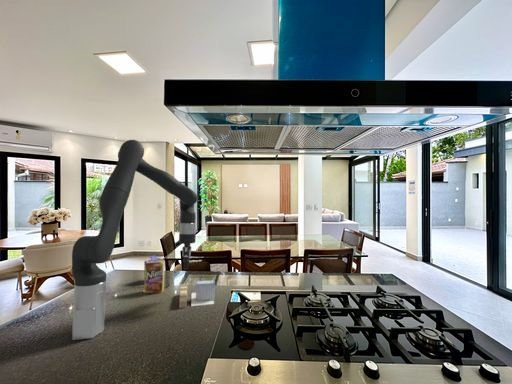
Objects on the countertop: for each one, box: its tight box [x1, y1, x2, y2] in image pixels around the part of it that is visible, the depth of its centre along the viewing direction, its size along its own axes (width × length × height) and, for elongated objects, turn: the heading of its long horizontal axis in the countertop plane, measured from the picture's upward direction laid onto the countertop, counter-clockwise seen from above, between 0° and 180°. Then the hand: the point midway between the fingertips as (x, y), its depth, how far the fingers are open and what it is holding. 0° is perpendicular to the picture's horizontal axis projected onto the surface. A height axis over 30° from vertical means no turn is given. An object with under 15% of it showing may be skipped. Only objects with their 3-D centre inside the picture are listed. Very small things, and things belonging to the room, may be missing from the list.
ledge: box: [178, 283, 189, 309], centre depth 114 cm, size 16×3×5 cm, turn 14°
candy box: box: [143, 260, 166, 294], centre depth 125 cm, size 9×4×15 cm, turn 98°
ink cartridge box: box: [143, 254, 165, 283], centre depth 142 cm, size 10×6×14 cm, turn 148°
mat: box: [190, 292, 215, 308], centre depth 116 cm, size 16×10×1 cm, turn 14°
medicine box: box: [195, 280, 216, 301], centre depth 115 cm, size 8×4×9 cm
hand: (186, 267), depth 113 cm, fingers open, 8 cm apart
